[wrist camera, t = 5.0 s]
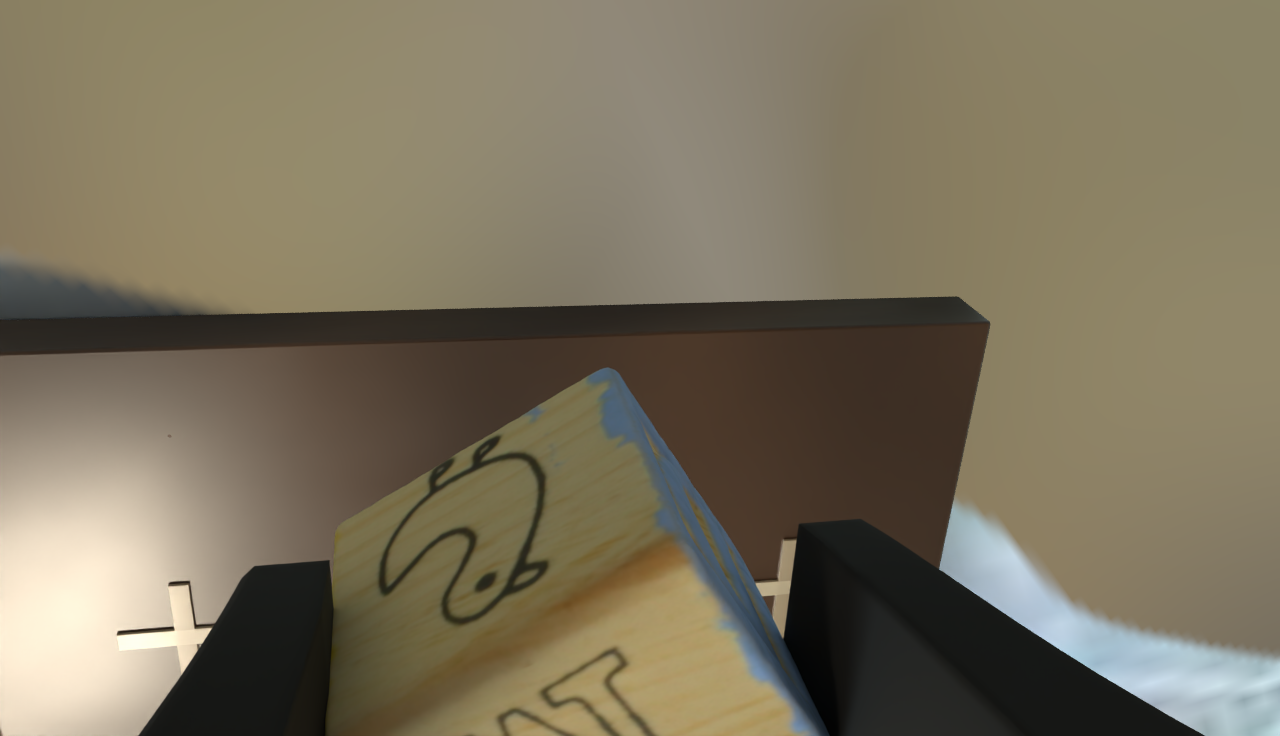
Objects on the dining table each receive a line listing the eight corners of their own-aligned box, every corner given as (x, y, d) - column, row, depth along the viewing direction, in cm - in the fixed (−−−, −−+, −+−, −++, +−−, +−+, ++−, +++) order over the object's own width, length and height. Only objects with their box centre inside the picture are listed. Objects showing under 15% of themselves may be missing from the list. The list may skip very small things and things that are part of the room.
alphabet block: (747, 562, 12) (856, 778, 9) (500, 710, 12) (536, 964, 9) (605, 348, 10) (686, 529, 8) (328, 518, 10) (309, 756, 8)
